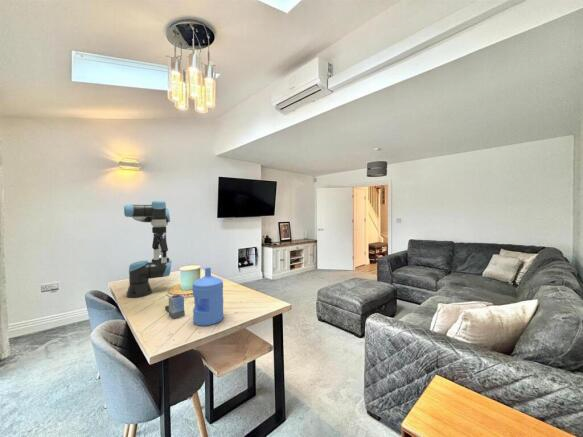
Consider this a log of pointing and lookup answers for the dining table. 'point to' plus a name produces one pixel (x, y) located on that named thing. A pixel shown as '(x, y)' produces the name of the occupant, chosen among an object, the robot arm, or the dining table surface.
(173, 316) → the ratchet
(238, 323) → the dining table surface
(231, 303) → the dining table surface
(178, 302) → the socket
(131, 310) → the dining table surface
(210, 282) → the water jug
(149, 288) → the robot arm
